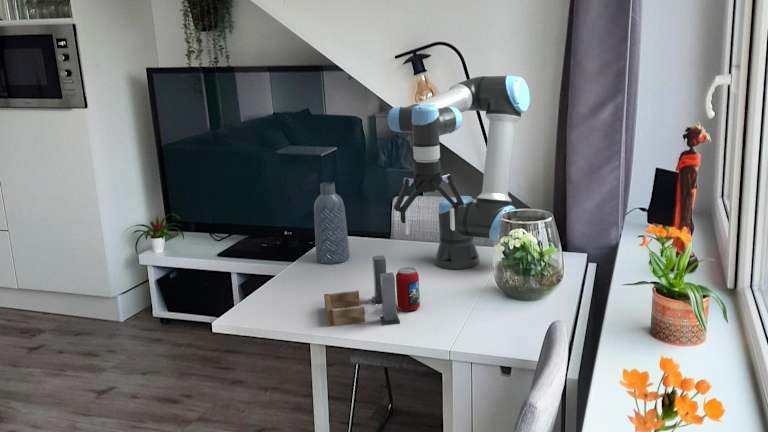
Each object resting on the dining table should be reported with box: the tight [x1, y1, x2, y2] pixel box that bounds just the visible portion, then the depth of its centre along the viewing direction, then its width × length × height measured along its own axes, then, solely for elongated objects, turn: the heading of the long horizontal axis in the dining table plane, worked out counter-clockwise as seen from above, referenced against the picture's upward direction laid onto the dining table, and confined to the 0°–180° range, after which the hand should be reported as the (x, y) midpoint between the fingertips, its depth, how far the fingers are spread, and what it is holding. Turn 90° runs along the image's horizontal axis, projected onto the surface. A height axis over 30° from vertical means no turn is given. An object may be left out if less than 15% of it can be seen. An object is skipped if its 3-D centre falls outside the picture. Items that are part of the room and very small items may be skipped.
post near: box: [379, 272, 401, 326], centre depth 216 cm, size 5×5×14 cm
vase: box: [313, 181, 350, 265], centre depth 274 cm, size 12×12×28 cm
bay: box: [323, 290, 366, 327], centre depth 224 cm, size 10×14×4 cm
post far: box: [372, 255, 387, 305], centre depth 232 cm, size 5×5×14 cm
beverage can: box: [395, 266, 421, 312], centre depth 225 cm, size 7×7×12 cm
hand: (429, 231), depth 223 cm, fingers open, 13 cm apart
